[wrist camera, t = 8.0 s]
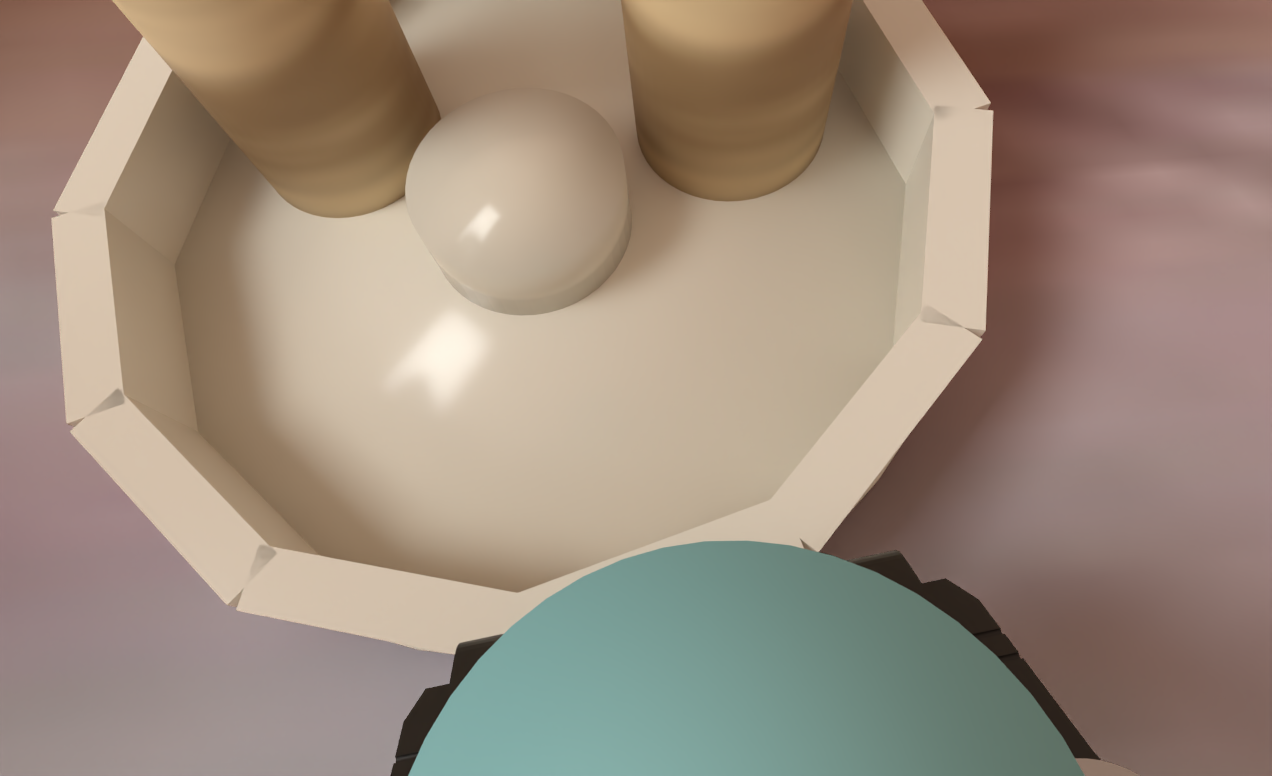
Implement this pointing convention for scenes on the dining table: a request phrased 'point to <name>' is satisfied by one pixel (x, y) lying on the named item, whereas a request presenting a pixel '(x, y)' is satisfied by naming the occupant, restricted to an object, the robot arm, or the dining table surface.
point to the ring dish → (515, 325)
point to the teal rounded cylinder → (740, 679)
